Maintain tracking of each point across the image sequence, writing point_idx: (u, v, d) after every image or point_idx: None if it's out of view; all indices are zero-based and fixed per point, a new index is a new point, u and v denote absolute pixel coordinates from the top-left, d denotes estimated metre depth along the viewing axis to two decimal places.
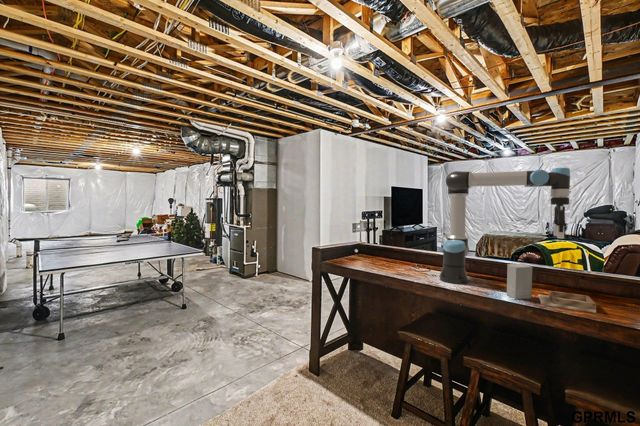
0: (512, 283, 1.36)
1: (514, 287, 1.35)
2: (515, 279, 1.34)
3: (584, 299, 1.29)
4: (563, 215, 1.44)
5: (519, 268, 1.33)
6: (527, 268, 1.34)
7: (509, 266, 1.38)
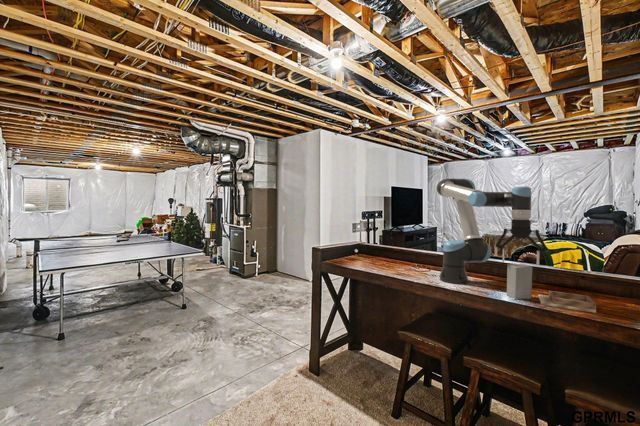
0: (512, 283, 1.36)
1: (514, 287, 1.35)
2: (515, 279, 1.34)
3: (584, 299, 1.29)
4: (500, 237, 1.40)
5: (519, 268, 1.33)
6: (527, 268, 1.34)
7: (509, 266, 1.38)
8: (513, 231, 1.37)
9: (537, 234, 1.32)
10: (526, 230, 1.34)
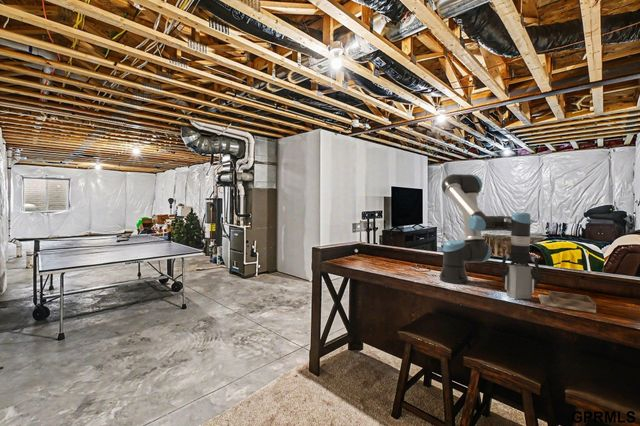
0: (512, 283, 1.36)
1: (514, 287, 1.35)
2: (515, 279, 1.34)
3: (584, 299, 1.29)
4: (501, 264, 1.40)
5: (519, 268, 1.33)
6: (527, 268, 1.34)
7: (509, 266, 1.38)
8: (512, 256, 1.37)
9: (535, 262, 1.33)
10: (525, 256, 1.35)
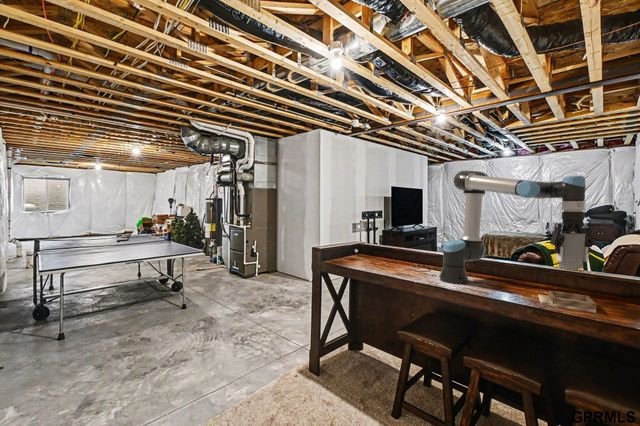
0: (571, 254, 1.23)
1: (575, 257, 1.22)
2: (576, 248, 1.22)
3: (584, 299, 1.29)
4: (556, 234, 1.26)
5: (580, 236, 1.22)
6: (583, 235, 1.24)
7: (565, 235, 1.25)
8: (568, 224, 1.25)
9: (589, 228, 1.25)
10: (580, 222, 1.25)
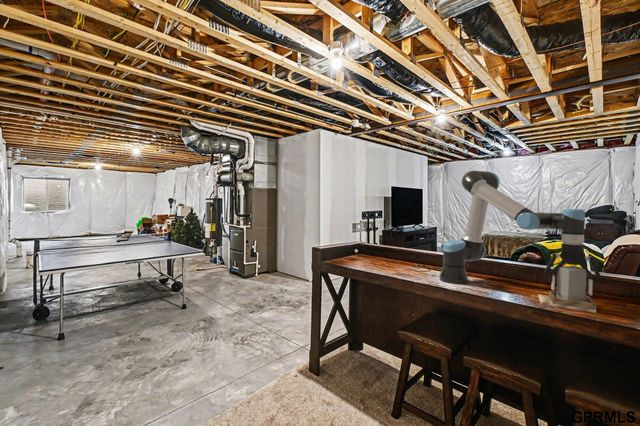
0: (564, 287, 1.26)
1: (566, 291, 1.24)
2: (568, 282, 1.24)
3: None
4: (549, 263, 1.30)
5: (572, 271, 1.23)
6: (581, 271, 1.23)
7: (560, 269, 1.28)
8: (564, 256, 1.27)
9: (591, 261, 1.22)
10: (579, 256, 1.24)
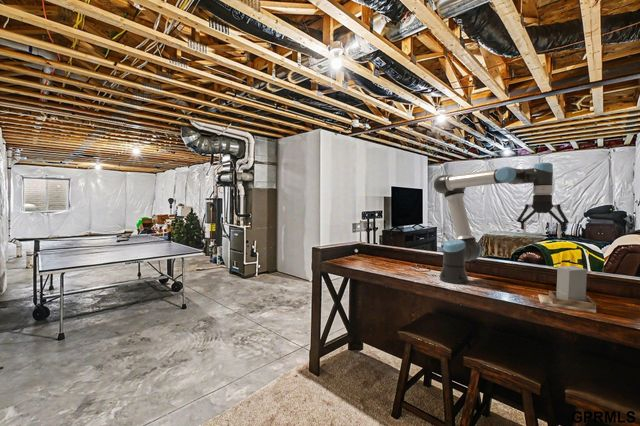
0: (564, 287, 1.26)
1: (567, 291, 1.24)
2: (568, 282, 1.24)
3: None
4: (521, 213, 1.45)
5: (573, 271, 1.23)
6: (581, 271, 1.23)
7: (560, 269, 1.28)
8: (535, 206, 1.42)
9: (558, 208, 1.37)
10: (548, 205, 1.39)
